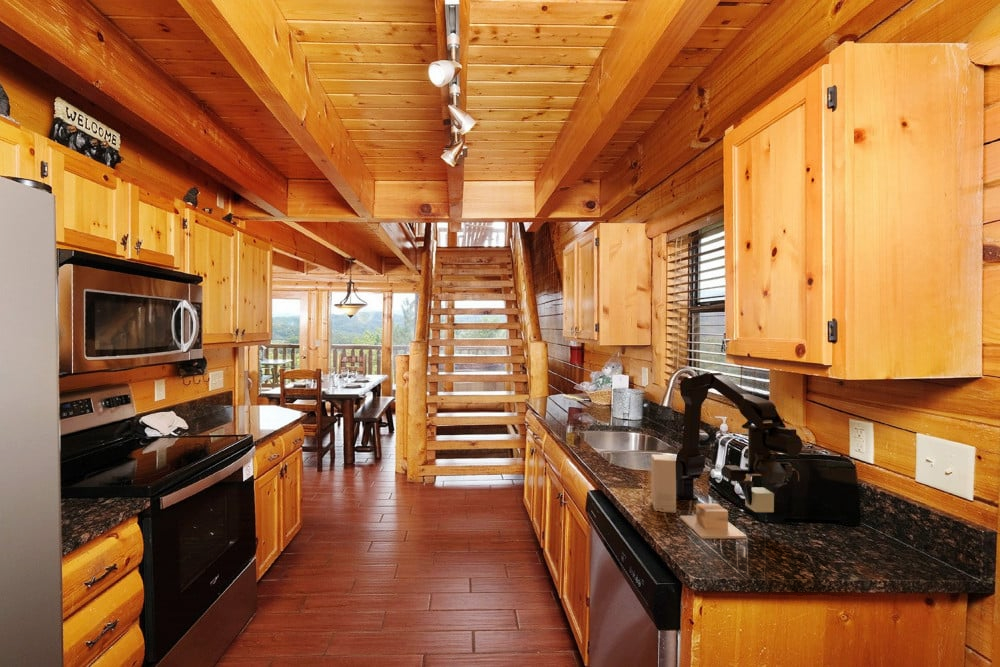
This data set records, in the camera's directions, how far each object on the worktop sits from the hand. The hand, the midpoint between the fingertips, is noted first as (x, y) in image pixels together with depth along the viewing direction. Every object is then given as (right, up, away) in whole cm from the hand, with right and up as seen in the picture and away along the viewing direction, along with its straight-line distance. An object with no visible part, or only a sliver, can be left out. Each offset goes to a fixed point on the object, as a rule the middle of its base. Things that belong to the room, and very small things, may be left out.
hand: (759, 504), depth 131 cm
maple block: (-12, -6, +2) cm, 14 cm away
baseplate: (-12, -7, +2) cm, 14 cm away
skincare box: (-21, -7, +16) cm, 27 cm away
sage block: (0, -1, 0) cm, 1 cm away
